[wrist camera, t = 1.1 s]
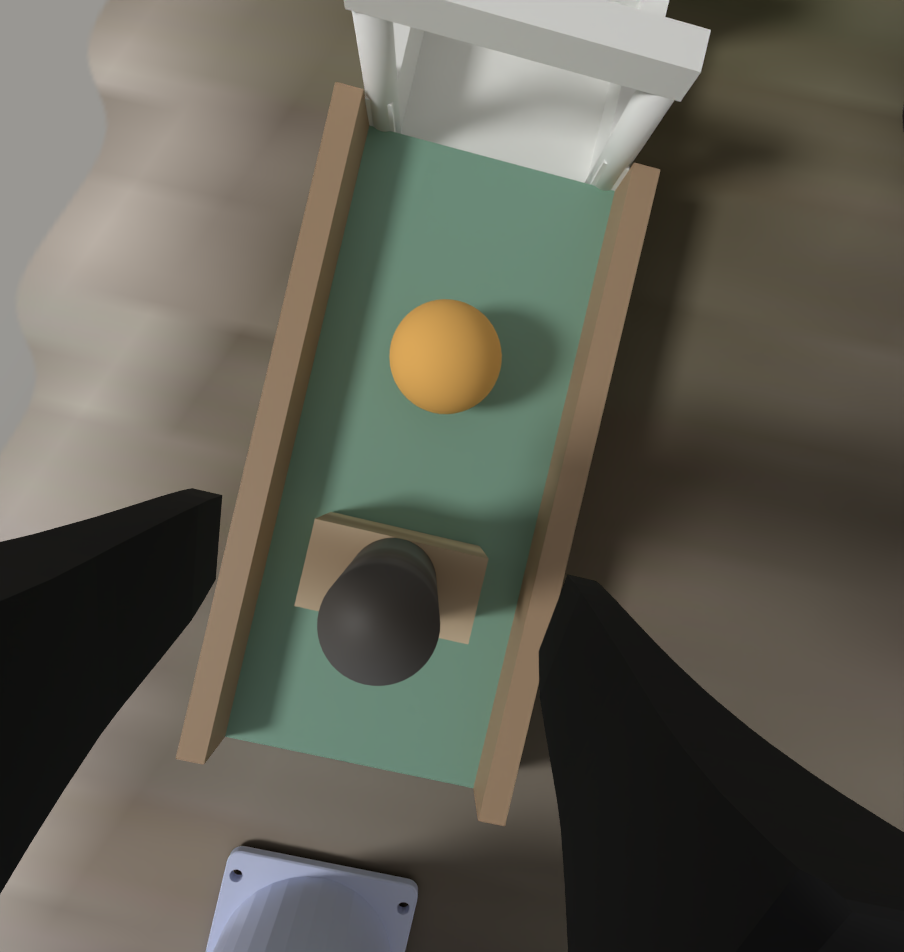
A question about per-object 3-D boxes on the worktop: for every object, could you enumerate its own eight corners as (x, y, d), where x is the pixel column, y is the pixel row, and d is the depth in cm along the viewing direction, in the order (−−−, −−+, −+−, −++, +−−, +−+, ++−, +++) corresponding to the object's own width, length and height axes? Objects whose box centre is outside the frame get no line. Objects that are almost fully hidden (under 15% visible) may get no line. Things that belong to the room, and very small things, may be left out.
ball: (481, 429, 21) (493, 420, 17) (382, 405, 21) (372, 390, 17) (504, 331, 21) (522, 299, 17) (405, 306, 21) (401, 268, 17)
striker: (462, 619, 21) (483, 710, 13) (313, 586, 21) (243, 658, 13) (479, 546, 21) (511, 592, 13) (330, 511, 21) (272, 537, 13)
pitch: (492, 772, 23) (528, 936, 15) (214, 713, 22) (95, 851, 14) (665, 44, 23) (795, -187, 15) (391, -34, 22) (370, -318, 14)
